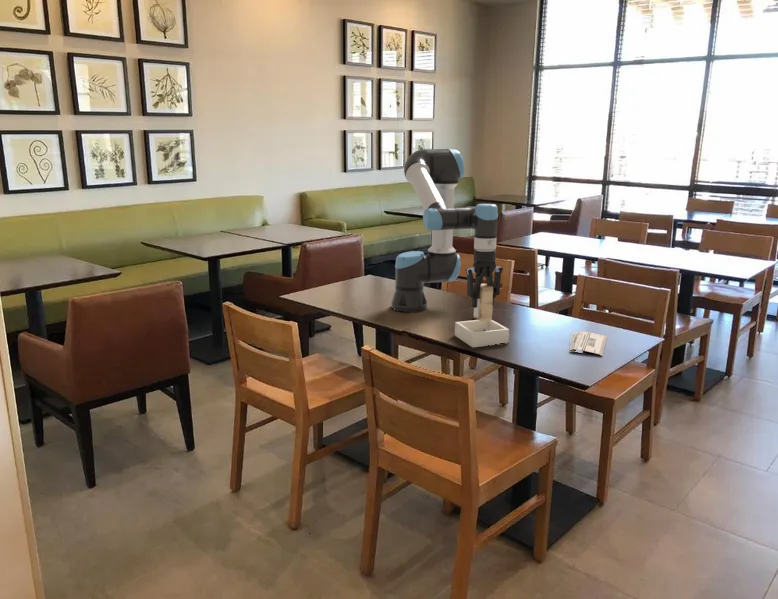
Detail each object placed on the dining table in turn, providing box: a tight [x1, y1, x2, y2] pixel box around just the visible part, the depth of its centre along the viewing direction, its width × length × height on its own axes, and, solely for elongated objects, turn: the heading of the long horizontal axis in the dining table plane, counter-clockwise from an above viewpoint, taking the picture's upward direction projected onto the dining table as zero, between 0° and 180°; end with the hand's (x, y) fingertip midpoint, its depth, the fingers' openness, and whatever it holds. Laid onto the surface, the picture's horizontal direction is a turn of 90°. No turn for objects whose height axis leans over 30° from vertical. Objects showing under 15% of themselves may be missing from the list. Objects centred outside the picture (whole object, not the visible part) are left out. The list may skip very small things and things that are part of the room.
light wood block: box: [473, 283, 493, 322], centre depth 218 cm, size 6×4×12 cm, turn 20°
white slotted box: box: [454, 319, 510, 348], centre depth 221 cm, size 14×14×5 cm
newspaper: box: [569, 331, 608, 357], centre depth 216 cm, size 23×12×2 cm, turn 157°
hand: (482, 315), depth 219 cm, fingers closed on light wood block, 4 cm apart
